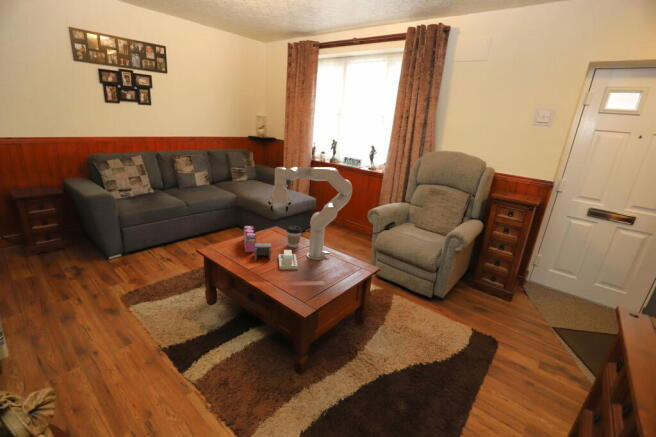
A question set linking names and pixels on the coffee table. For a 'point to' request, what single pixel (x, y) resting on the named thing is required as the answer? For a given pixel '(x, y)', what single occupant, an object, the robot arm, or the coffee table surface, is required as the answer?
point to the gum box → (249, 238)
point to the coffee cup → (293, 236)
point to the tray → (287, 267)
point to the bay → (262, 249)
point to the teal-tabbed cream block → (288, 257)
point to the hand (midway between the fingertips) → (279, 211)
